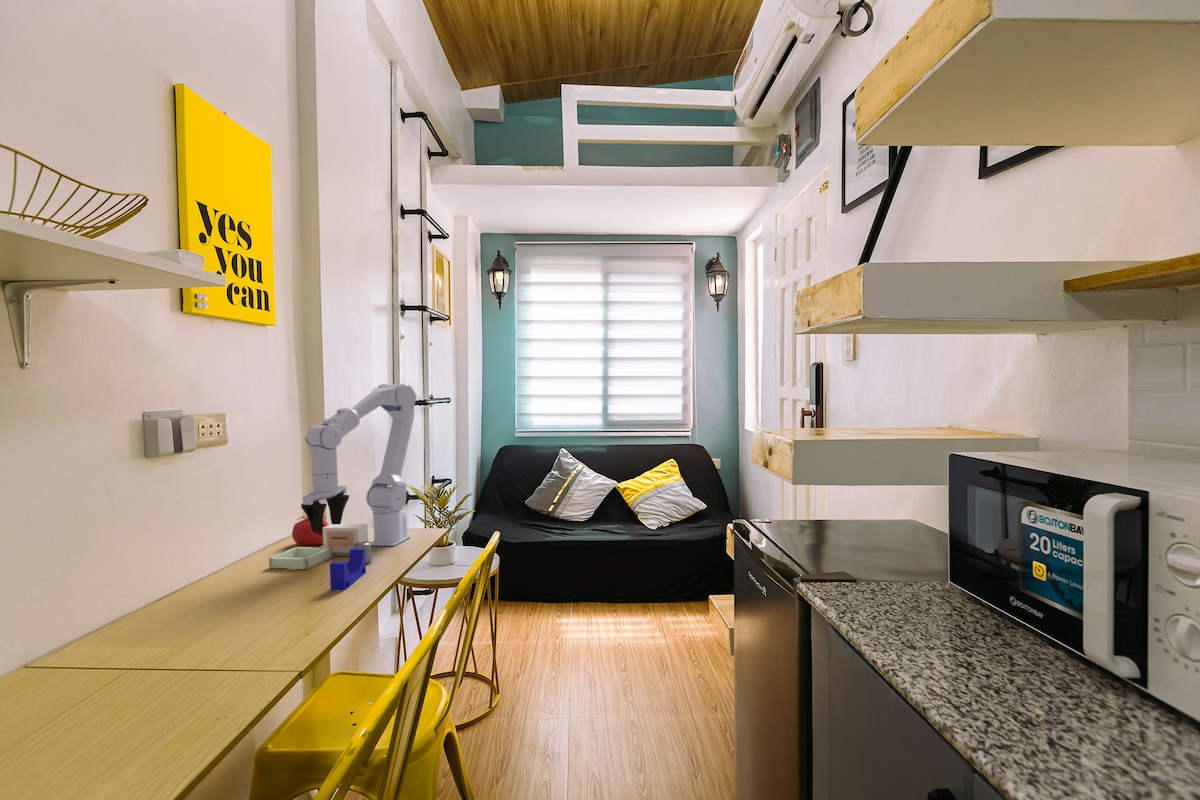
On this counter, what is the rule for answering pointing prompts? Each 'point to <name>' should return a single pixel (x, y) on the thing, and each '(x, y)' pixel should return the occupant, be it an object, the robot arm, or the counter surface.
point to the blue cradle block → (348, 570)
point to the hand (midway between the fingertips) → (327, 527)
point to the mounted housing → (343, 537)
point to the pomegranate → (307, 533)
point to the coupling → (367, 550)
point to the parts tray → (300, 558)
